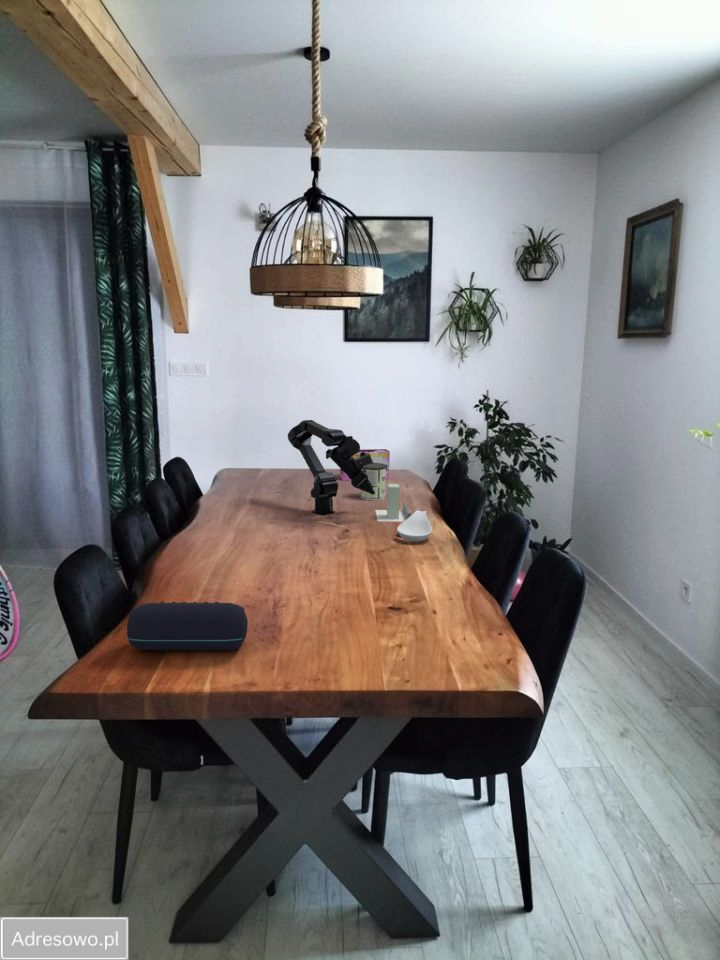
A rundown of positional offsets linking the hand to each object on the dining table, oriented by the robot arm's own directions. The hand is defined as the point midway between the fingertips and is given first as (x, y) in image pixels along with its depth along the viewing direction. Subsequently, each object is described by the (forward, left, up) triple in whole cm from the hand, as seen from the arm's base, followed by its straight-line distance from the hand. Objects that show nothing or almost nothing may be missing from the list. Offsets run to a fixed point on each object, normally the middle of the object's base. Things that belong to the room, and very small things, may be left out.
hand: (373, 491), depth 246 cm
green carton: (+5, -5, -10) cm, 12 cm away
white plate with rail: (+7, -4, -11) cm, 13 cm away
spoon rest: (-3, -24, -11) cm, 27 cm away
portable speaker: (-105, -45, -11) cm, 115 cm away
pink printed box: (+50, +52, -11) cm, 73 cm away
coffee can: (+24, +23, -11) cm, 35 cm away
